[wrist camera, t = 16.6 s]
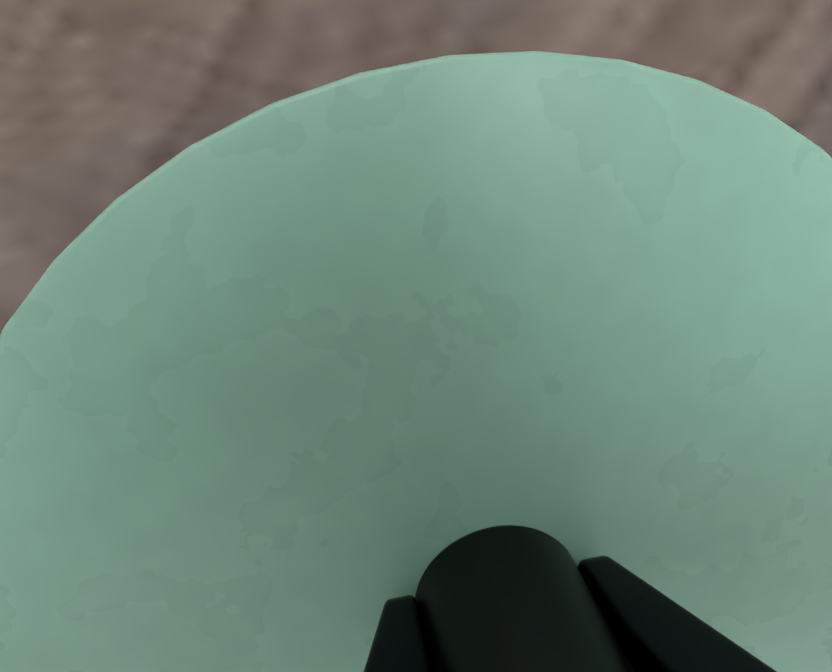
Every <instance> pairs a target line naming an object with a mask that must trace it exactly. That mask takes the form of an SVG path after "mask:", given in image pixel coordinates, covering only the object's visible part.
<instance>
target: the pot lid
mask: <svg viewBox="0 0 832 672" xmlns="http://www.w3.org/2000/svg"><path fill="white" fill-rule="evenodd" d="M597 556H607V557H610V558H611V559H613V560H614V561H616V562H617V563H619V564H620V565H622V566H623V567H625V568H626V569H628V570H629V571H630V572H632V573H633V574H635V575H636V576H638V577H639V578H641V579H642V580H644V581H645V582H647V583H648V584H650V585H651V586H652V587H654V588H655V589H657V590H658V591H660V592H661V593H663V594H664V595H666V596H667V597H669V598H670V599H671V600H673V601H674V602H676V603H677V604H679V605H680V606H682V607H683V608H685V609H686V610H688V611H689V612H691V613H692V614H693V615H695V616H696V617H698V618H699V619H701V620H702V621H704V622H705V623H707V624H708V625H710V626H711V627H712V628H714V629H715V630H717V631H718V632H720V633H721V634H723V635H724V636H726V637H727V638H729V639H730V640H731V641H733V642H734V643H736V644H737V645H739V646H740V647H742V648H743V649H745V650H746V651H748V652H749V653H751V654H752V655H753V656H755V657H756V658H758V659H759V660H761V661H762V662H764V663H765V664H767V665H768V666H770V667H771V668H772V669H774V670H775V671H777V672H832V158H831V157H830V156H829V155H828V154H827V153H826V152H825V151H824V150H823V149H822V148H821V147H819V146H818V145H816V144H815V143H813V142H812V141H810V140H809V139H807V138H806V137H804V136H803V135H801V134H800V133H798V132H797V131H795V130H794V129H793V128H791V127H790V126H788V125H787V124H785V123H784V122H782V121H781V120H779V119H778V118H776V117H775V116H773V115H772V114H770V113H769V112H767V111H766V110H764V109H762V108H760V107H758V106H755V105H753V104H751V103H749V102H746V101H744V100H742V99H740V98H738V97H735V96H733V95H731V94H729V93H726V92H724V91H722V90H720V89H717V88H715V87H713V86H711V85H709V84H706V83H704V82H702V81H700V80H697V79H694V78H690V77H686V76H682V75H679V74H675V73H671V72H667V71H663V70H660V69H656V68H652V67H648V66H645V65H641V64H637V63H633V62H629V61H626V60H622V59H613V58H604V57H594V56H584V55H574V54H564V53H555V52H545V51H521V52H501V53H480V54H459V55H446V56H441V57H436V58H431V59H426V60H421V61H416V62H411V63H405V64H400V65H395V66H390V67H385V68H380V69H375V70H370V71H365V72H360V73H356V74H354V75H351V76H348V77H345V78H342V79H339V80H336V81H334V82H331V83H328V84H325V85H322V86H319V87H316V88H314V89H311V90H308V91H305V92H302V93H299V94H296V95H294V96H291V97H288V98H285V99H282V100H279V101H276V102H274V103H271V104H269V105H267V106H265V107H263V108H261V109H259V110H257V111H255V112H254V113H252V114H250V115H248V116H246V117H244V118H242V119H240V120H238V121H236V122H234V123H232V124H231V125H229V126H227V127H225V128H223V129H221V130H219V131H217V132H215V133H213V134H211V135H209V136H207V137H206V138H204V139H202V140H200V141H198V142H196V143H194V144H192V145H190V146H188V147H187V148H186V149H184V150H183V151H182V152H180V153H179V154H177V155H176V156H175V157H173V158H172V159H170V160H169V161H168V162H166V163H165V164H164V165H162V166H161V167H159V168H158V169H157V170H155V171H154V172H152V173H151V174H150V175H148V176H147V177H145V178H144V179H143V180H141V181H140V182H139V183H137V184H136V185H134V186H133V187H132V188H130V189H129V190H127V191H126V192H125V193H123V194H122V195H121V196H119V197H118V198H116V199H115V200H114V201H113V202H112V203H111V204H110V205H109V206H108V207H107V208H106V209H105V210H104V211H103V212H102V213H101V214H100V215H99V216H98V217H97V218H96V219H95V220H94V221H93V222H92V223H91V224H90V225H89V226H88V227H87V228H86V229H85V230H84V231H83V232H82V233H80V234H79V235H78V236H77V237H76V238H75V239H74V240H73V241H72V242H71V243H70V244H69V245H68V246H67V247H66V248H65V249H64V250H63V251H62V252H61V253H60V254H59V255H58V256H57V257H56V258H55V259H54V260H53V261H52V263H51V264H50V265H49V267H48V268H47V270H46V271H45V272H44V274H43V275H42V276H41V278H40V279H39V280H38V282H37V283H36V284H35V286H34V287H33V288H32V290H31V291H30V292H29V294H28V295H27V296H26V298H25V299H24V300H23V302H22V303H21V305H20V306H19V307H18V309H17V310H16V311H15V313H14V314H13V315H12V317H11V318H10V319H9V321H8V322H7V323H6V325H5V327H4V328H3V330H2V332H1V334H0V672H364V668H365V665H366V662H367V659H368V655H369V652H370V649H371V646H372V642H373V639H374V636H375V633H376V629H377V626H378V623H379V620H380V616H381V613H382V610H383V607H384V604H385V602H386V601H387V600H388V599H392V598H397V597H401V596H406V595H412V596H414V597H415V600H416V604H417V609H418V613H419V618H420V623H421V628H422V632H423V637H424V642H425V646H426V651H427V656H428V661H429V668H430V672H635V671H634V669H633V667H632V665H631V663H630V662H629V660H628V658H627V656H626V654H625V653H624V651H623V649H622V647H621V645H620V644H619V642H618V640H617V638H616V636H615V634H614V633H613V631H612V629H611V627H610V625H609V624H608V622H607V620H606V618H605V616H604V614H603V613H602V611H601V609H600V607H599V605H598V604H597V602H596V600H595V598H594V596H593V595H592V593H591V591H590V589H589V587H588V585H587V584H586V582H585V580H584V578H583V576H582V575H581V573H580V571H579V569H578V564H579V562H580V561H581V560H583V559H588V558H592V557H597Z"/></svg>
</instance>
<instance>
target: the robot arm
mask: <svg viewBox="0 0 832 672" xmlns="http://www.w3.org/2000/svg"><path fill="white" fill-rule="evenodd" d="M578 569H579V571H580V573H581V575H582V576H583V578H584V580H585V582H586V584H587V585H588V587H589V589H590V591H591V593H592V595H593V596H594V598H595V600H596V602H597V604H598V605H599V607H600V609H601V611H602V613H603V614H604V616H605V618H606V620H607V622H608V624H609V625H610V627H611V629H612V631H613V633H614V634H615V636H616V638H617V640H618V642H619V644H620V645H621V647H622V649H623V651H624V653H625V654H626V656H627V658H628V660H629V662H630V663H631V665H632V667H633V669H634V671H635V672H777V671H775V670H774V669H772V668H771V667H770V666H768V665H767V664H765V663H764V662H762V661H761V660H759V659H758V658H756V657H755V656H753V655H752V654H751V653H749V652H748V651H746V650H745V649H743V648H742V647H740V646H739V645H737V644H736V643H734V642H733V641H731V640H730V639H729V638H727V637H726V636H724V635H723V634H721V633H720V632H718V631H717V630H715V629H714V628H712V627H711V626H710V625H708V624H707V623H705V622H704V621H702V620H701V619H699V618H698V617H696V616H695V615H693V614H692V613H691V612H689V611H688V610H686V609H685V608H683V607H682V606H680V605H679V604H677V603H676V602H674V601H673V600H671V599H670V598H669V597H667V596H666V595H664V594H663V593H661V592H660V591H658V590H657V589H655V588H654V587H652V586H651V585H650V584H648V583H647V582H645V581H644V580H642V579H641V578H639V577H638V576H636V575H635V574H633V573H632V572H630V571H629V570H628V569H626V568H625V567H623V566H622V565H620V564H619V563H617V562H616V561H614V560H613V559H611V558H610V557H607V556H597V557H592V558H588V559H583V560H581V561H580V562H579V564H578ZM364 672H430V668H429V661H428V656H427V651H426V646H425V642H424V637H423V632H422V628H421V623H420V618H419V613H418V609H417V604H416V600H415V597H414V596H412V595H406V596H401V597H397V598H392V599H388V600H387V601H386V602H385V604H384V607H383V610H382V613H381V616H380V620H379V623H378V626H377V629H376V633H375V636H374V639H373V642H372V646H371V649H370V652H369V655H368V659H367V662H366V665H365V668H364Z"/></svg>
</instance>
